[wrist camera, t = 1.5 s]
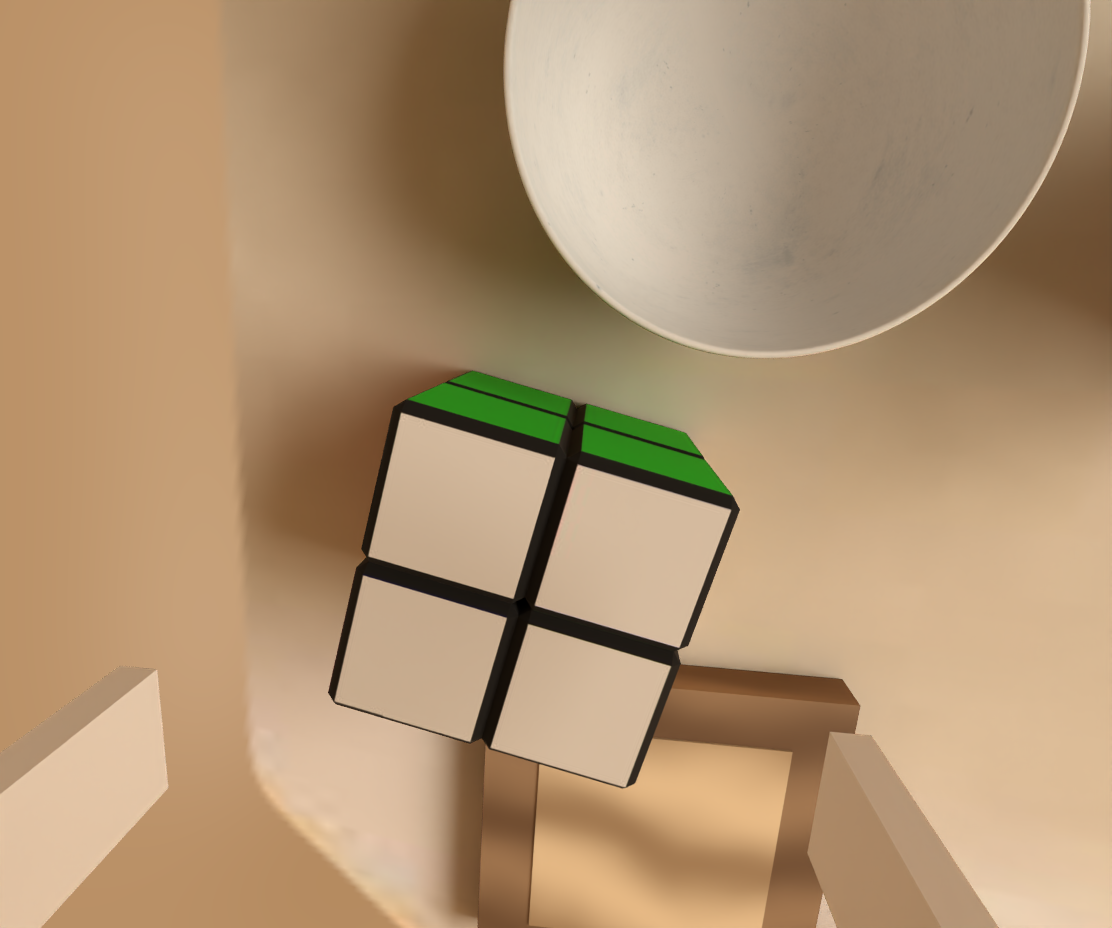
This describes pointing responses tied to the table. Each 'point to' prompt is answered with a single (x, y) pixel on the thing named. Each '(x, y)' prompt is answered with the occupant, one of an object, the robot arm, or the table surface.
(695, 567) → the puzzle cube
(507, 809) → the walnut board
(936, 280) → the chinaware
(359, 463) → the table surface
